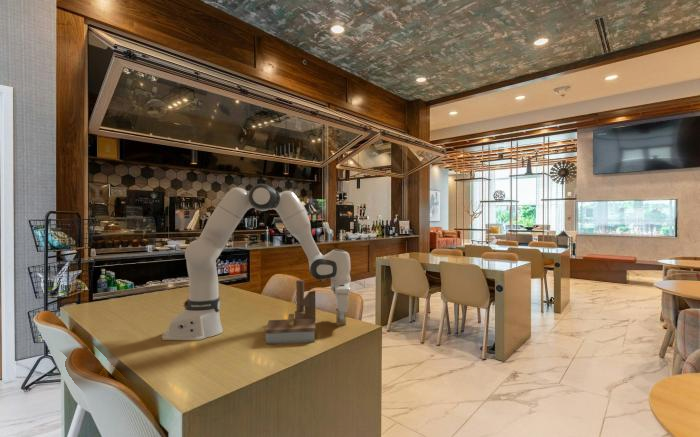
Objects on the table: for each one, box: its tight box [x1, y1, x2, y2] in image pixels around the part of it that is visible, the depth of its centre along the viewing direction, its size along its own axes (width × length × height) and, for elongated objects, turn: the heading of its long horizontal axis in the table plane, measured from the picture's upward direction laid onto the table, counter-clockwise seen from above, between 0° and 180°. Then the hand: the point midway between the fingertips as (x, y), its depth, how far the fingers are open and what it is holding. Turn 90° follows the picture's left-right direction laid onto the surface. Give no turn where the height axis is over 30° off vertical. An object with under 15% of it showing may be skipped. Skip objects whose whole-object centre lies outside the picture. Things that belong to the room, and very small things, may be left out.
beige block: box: [335, 308, 347, 327], centre depth 152 cm, size 4×4×6 cm
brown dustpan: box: [294, 279, 317, 322], centre depth 158 cm, size 4×11×18 cm, turn 48°
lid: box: [264, 313, 316, 334], centre depth 134 cm, size 19×13×4 cm
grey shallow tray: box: [265, 331, 315, 345], centre depth 134 cm, size 18×12×4 cm, turn 96°
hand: (341, 317), depth 152 cm, fingers open, 4 cm apart
